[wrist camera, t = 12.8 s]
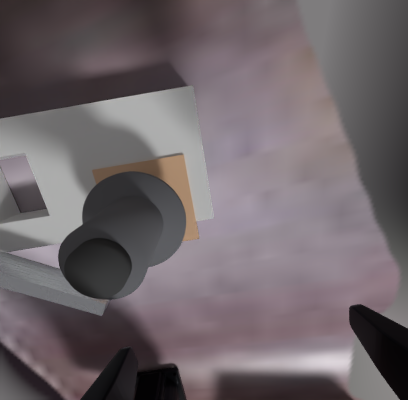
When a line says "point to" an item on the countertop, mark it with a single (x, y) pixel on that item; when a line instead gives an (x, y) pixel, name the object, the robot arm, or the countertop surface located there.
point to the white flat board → (102, 160)
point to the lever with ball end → (44, 284)
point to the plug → (122, 235)
